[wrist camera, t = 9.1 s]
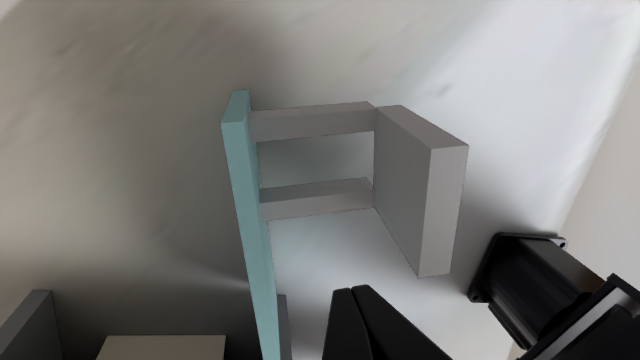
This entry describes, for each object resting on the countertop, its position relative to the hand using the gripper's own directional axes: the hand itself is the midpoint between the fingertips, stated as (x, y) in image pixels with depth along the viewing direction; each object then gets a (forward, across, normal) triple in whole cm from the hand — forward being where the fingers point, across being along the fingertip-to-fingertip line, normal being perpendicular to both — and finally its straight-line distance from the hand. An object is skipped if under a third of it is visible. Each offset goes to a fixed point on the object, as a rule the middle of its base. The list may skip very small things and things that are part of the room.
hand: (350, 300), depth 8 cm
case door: (+12, -1, +4) cm, 13 cm away
